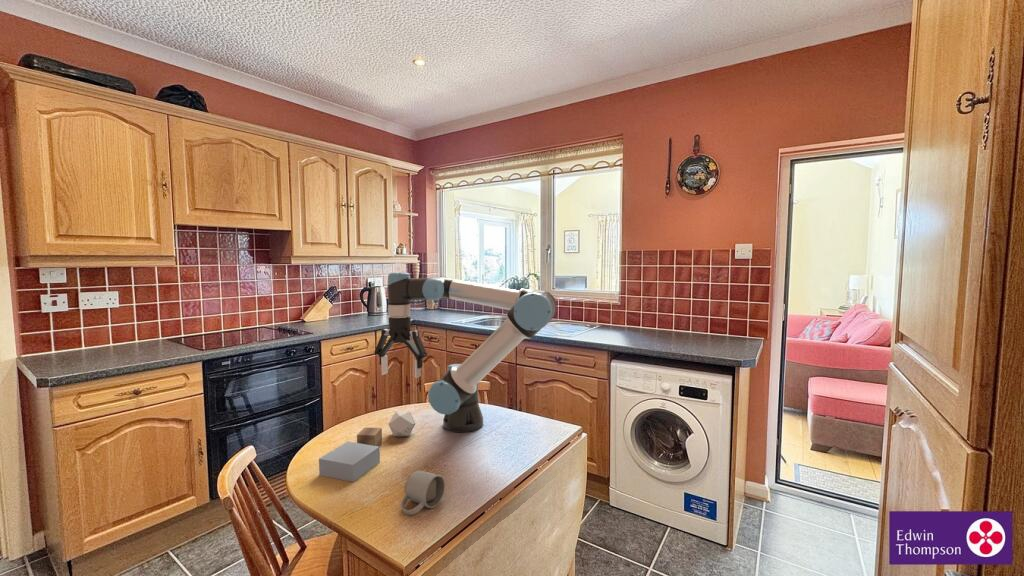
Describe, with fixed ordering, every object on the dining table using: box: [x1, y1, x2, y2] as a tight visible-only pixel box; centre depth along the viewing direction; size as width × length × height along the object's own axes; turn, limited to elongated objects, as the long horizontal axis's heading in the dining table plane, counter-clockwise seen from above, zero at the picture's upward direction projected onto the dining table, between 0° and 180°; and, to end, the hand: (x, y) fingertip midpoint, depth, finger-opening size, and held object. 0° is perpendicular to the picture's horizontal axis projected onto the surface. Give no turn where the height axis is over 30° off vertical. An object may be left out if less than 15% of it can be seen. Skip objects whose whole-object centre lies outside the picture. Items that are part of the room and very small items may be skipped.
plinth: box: [318, 441, 381, 483], centre depth 123 cm, size 12×12×5 cm
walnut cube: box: [356, 427, 383, 448], centre depth 137 cm, size 6×6×6 cm
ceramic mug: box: [400, 470, 446, 516], centre depth 105 cm, size 11×8×8 cm
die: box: [388, 410, 416, 437], centre depth 148 cm, size 8×9×10 cm
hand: (401, 375), depth 147 cm, fingers open, 13 cm apart
